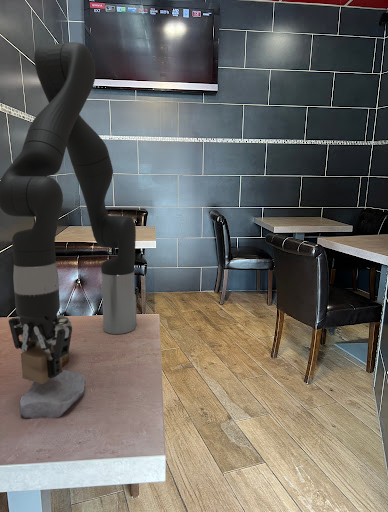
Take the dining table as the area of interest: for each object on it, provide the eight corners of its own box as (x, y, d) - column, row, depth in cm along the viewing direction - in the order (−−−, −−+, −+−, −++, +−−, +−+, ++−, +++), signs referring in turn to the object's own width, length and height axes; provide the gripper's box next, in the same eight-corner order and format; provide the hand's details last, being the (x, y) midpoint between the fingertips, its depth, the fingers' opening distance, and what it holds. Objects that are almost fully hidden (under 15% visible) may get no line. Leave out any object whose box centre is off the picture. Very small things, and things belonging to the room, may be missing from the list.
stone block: (87, 392, 78) (40, 383, 77) (91, 372, 77) (43, 363, 76) (69, 430, 66) (14, 420, 66) (73, 408, 65) (17, 397, 65)
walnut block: (43, 366, 73) (41, 343, 72) (62, 372, 71) (61, 348, 70) (22, 378, 69) (20, 353, 68) (42, 384, 67) (40, 358, 66)
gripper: (81, 287, 67) (85, 372, 70) (25, 278, 73) (31, 357, 76) (50, 298, 60) (56, 391, 64) (-9, 287, 66) (-1, 373, 69)
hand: (42, 372), depth 70 cm, fingers closed on walnut block, 5 cm apart
